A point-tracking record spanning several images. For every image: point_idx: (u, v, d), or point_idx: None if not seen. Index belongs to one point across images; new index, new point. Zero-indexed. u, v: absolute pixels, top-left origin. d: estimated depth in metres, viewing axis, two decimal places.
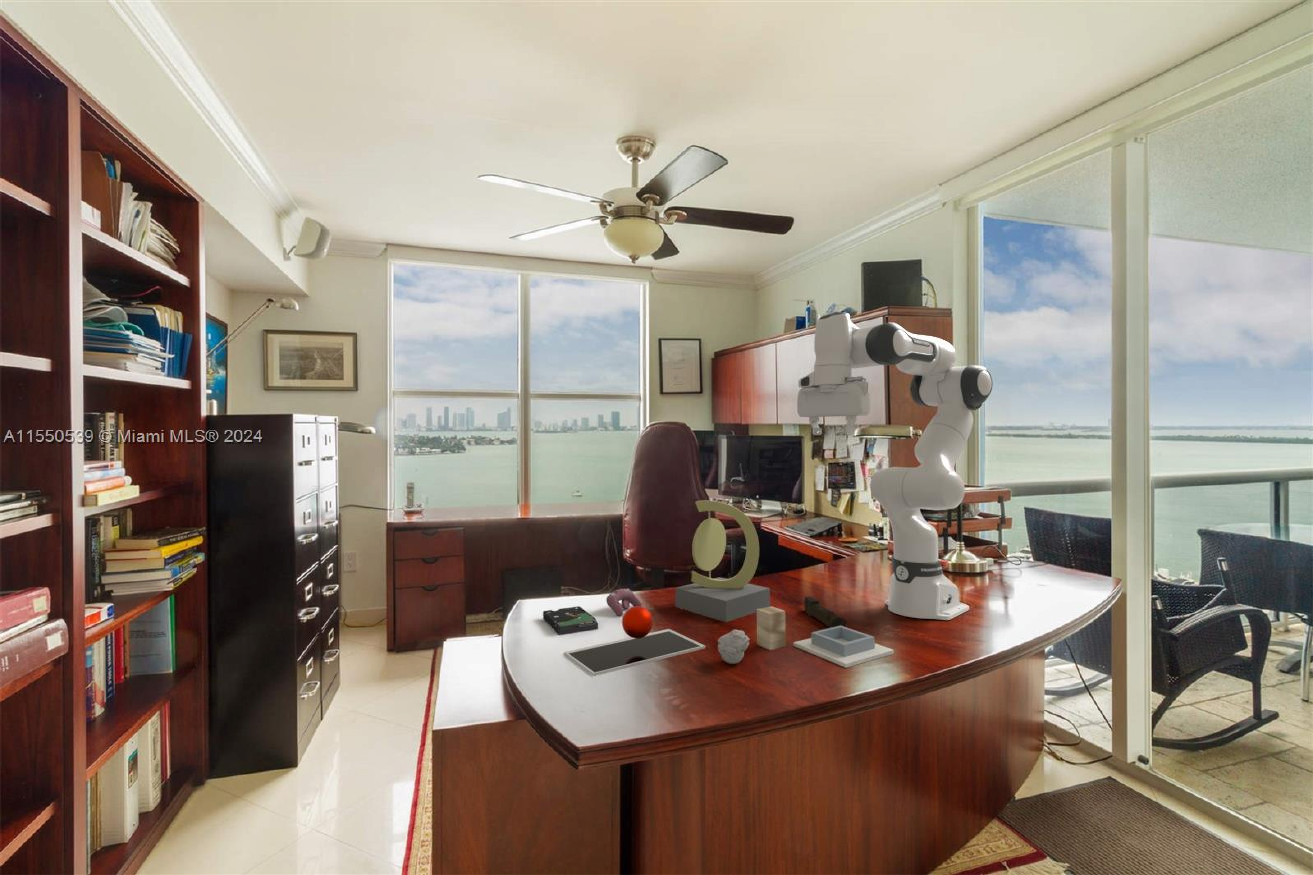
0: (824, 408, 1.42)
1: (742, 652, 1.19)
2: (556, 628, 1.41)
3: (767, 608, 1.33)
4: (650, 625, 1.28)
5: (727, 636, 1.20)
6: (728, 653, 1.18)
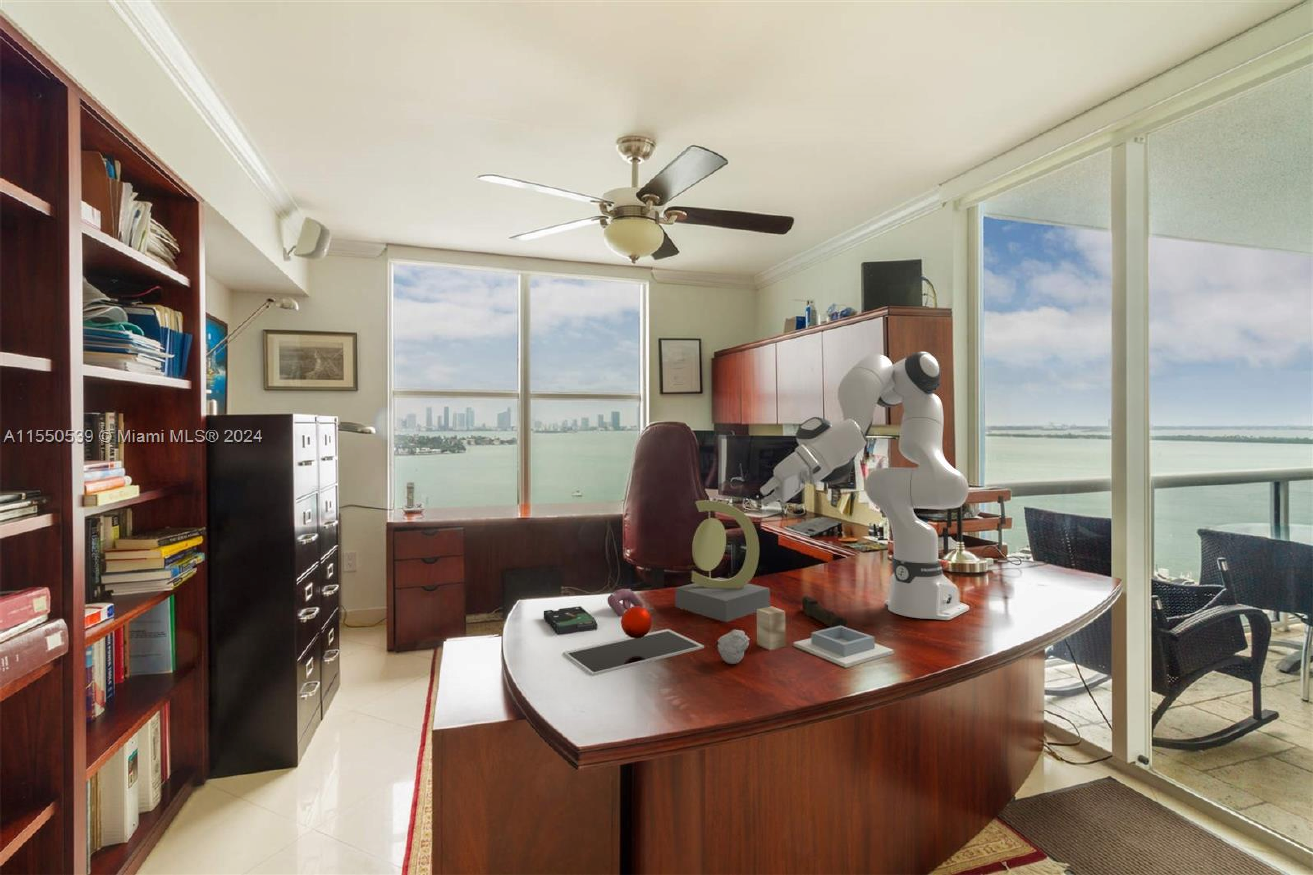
0: (788, 488, 1.40)
1: (742, 652, 1.19)
2: (555, 628, 1.41)
3: (767, 608, 1.33)
4: (649, 625, 1.28)
5: (727, 636, 1.20)
6: (728, 653, 1.18)
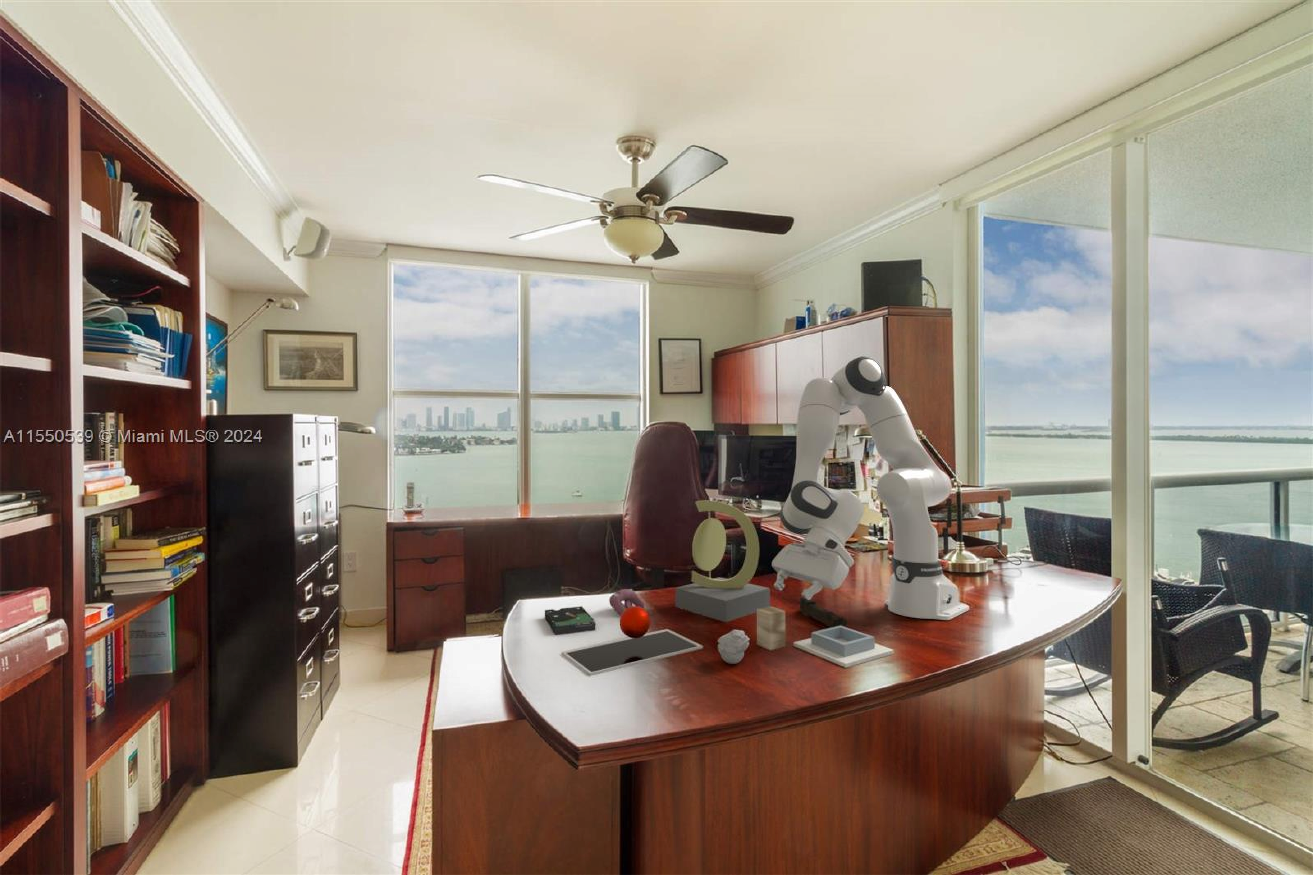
0: None
1: (742, 652, 1.19)
2: (553, 628, 1.41)
3: (767, 608, 1.33)
4: (647, 625, 1.28)
5: (727, 636, 1.20)
6: (728, 653, 1.18)
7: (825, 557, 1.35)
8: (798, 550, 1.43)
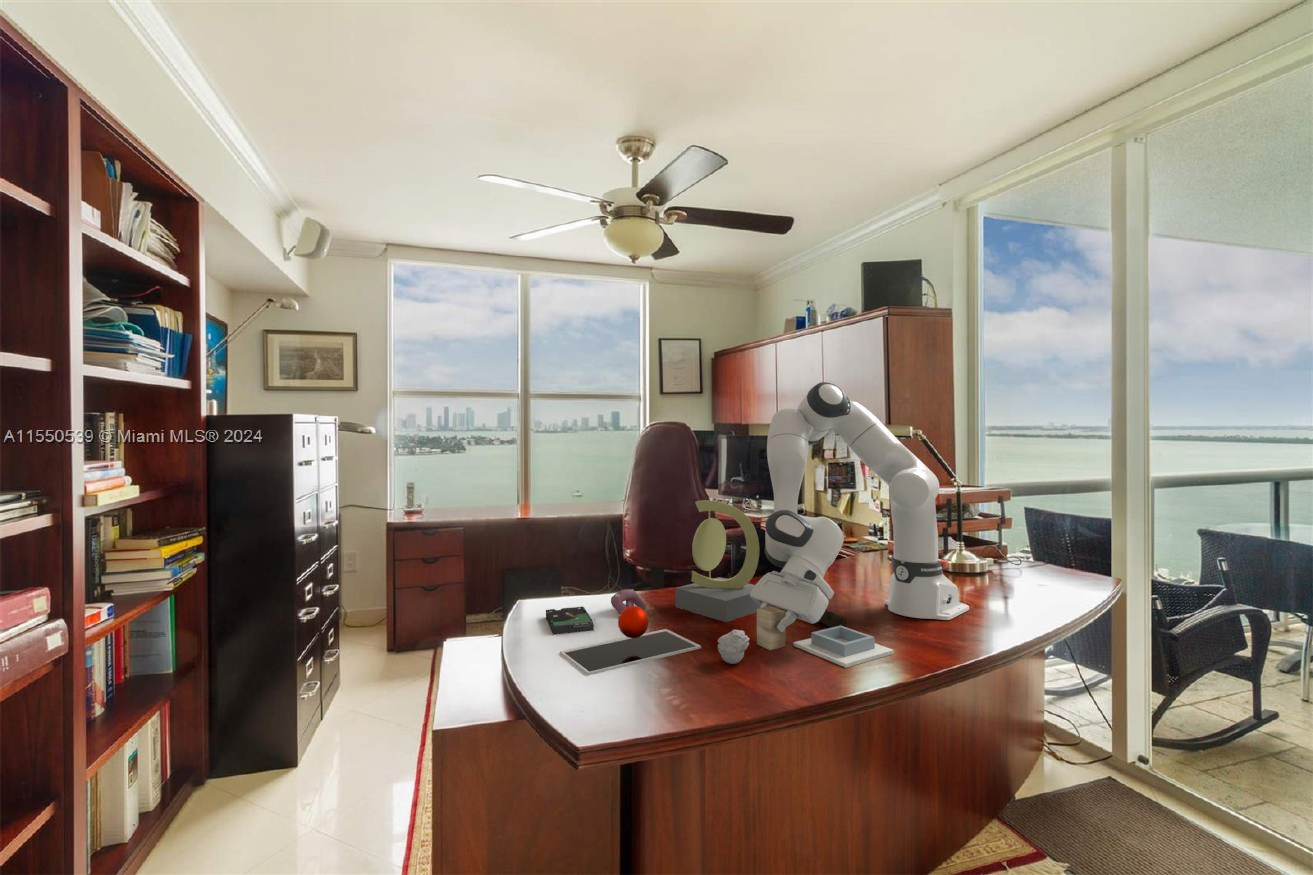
0: None
1: (742, 652, 1.19)
2: (551, 627, 1.42)
3: (767, 608, 1.33)
4: (646, 625, 1.28)
5: (727, 636, 1.20)
6: (728, 653, 1.18)
7: (804, 589, 1.30)
8: (777, 580, 1.38)
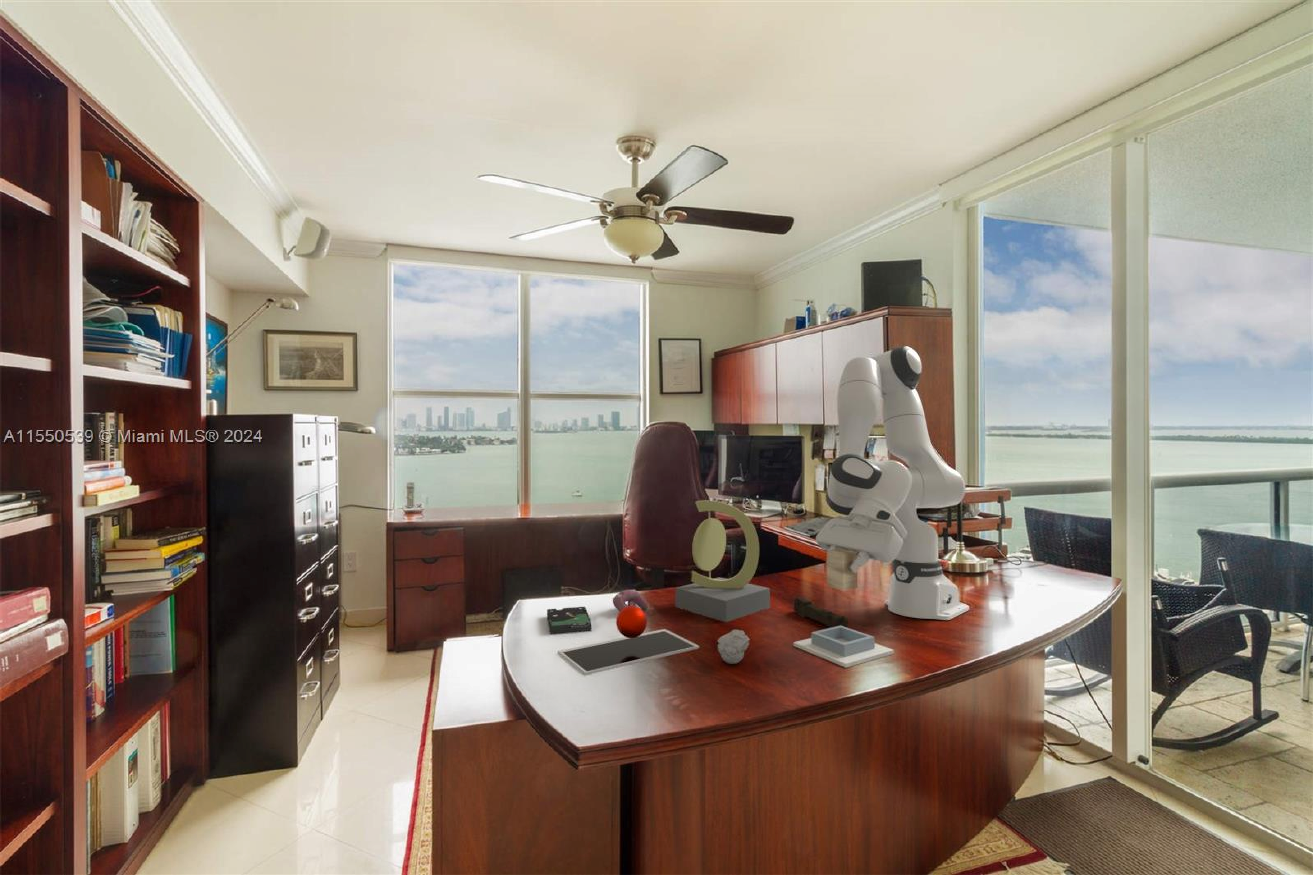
0: None
1: (742, 652, 1.19)
2: (549, 627, 1.42)
3: (837, 550, 1.30)
4: (644, 625, 1.28)
5: (727, 636, 1.20)
6: (728, 653, 1.18)
7: (877, 529, 1.27)
8: (844, 524, 1.35)
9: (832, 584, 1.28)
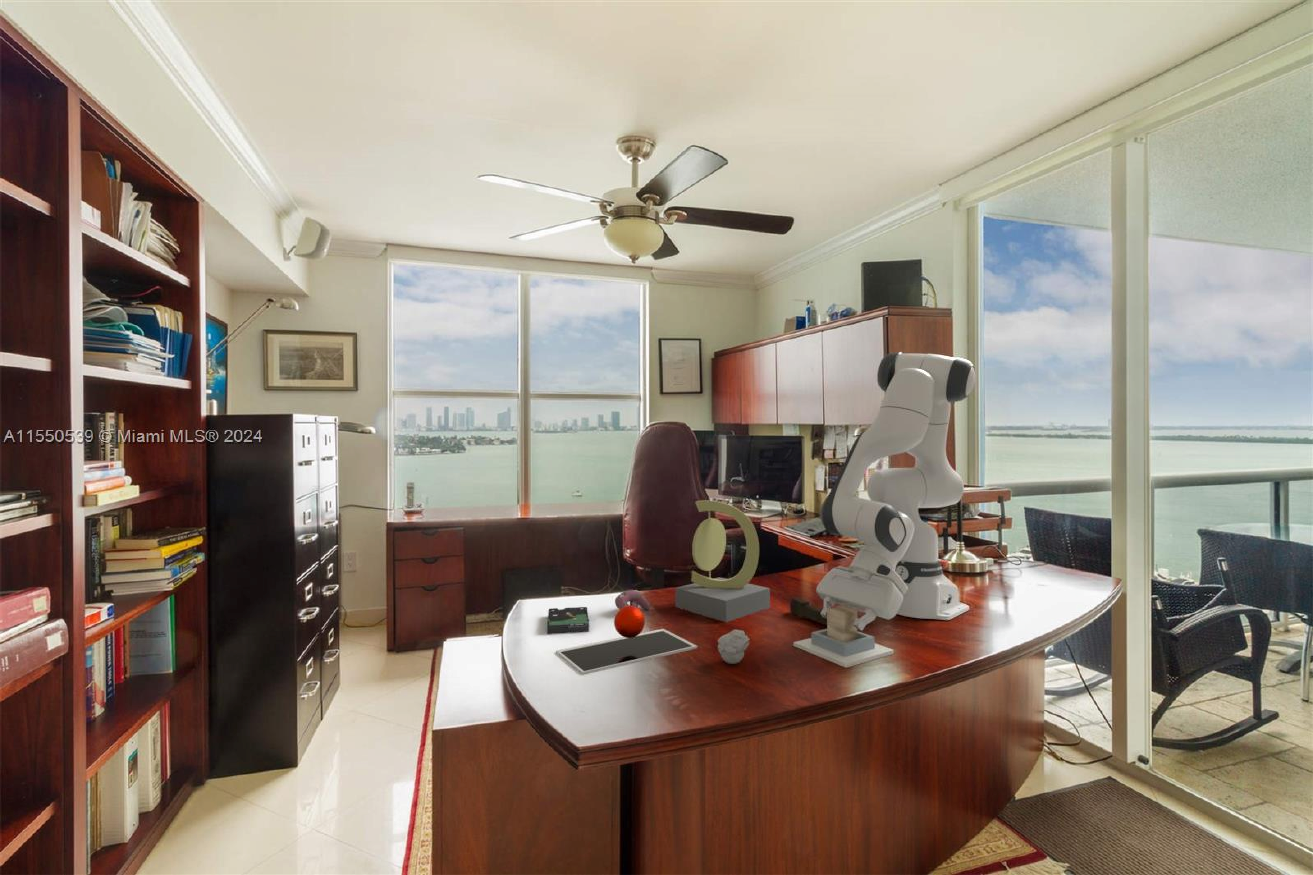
0: None
1: (742, 652, 1.19)
2: None
3: (837, 608, 1.30)
4: (642, 625, 1.28)
5: (727, 636, 1.20)
6: (728, 653, 1.18)
7: (877, 584, 1.27)
8: (845, 575, 1.35)
9: None
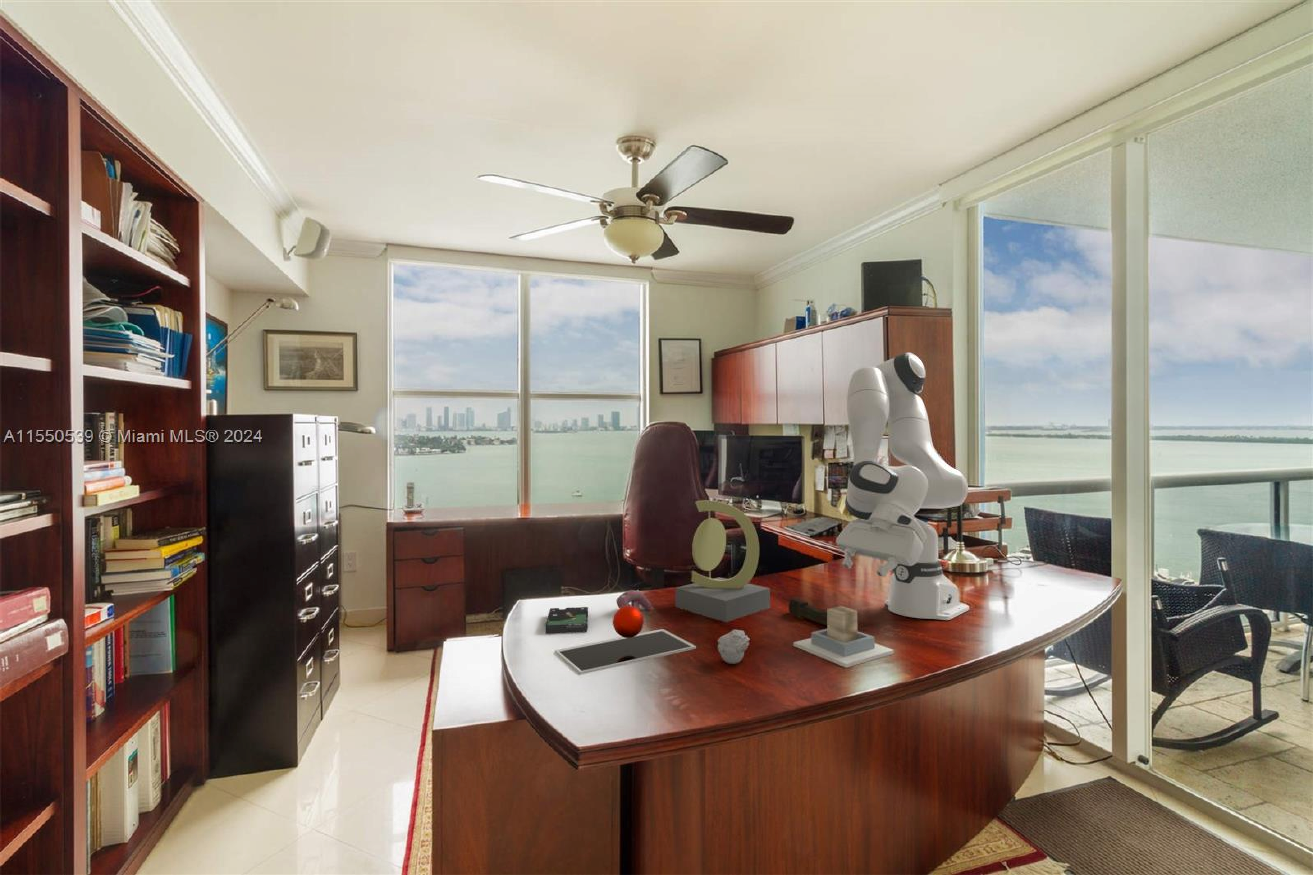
0: None
1: (742, 652, 1.19)
2: None
3: (837, 608, 1.30)
4: (640, 625, 1.28)
5: (727, 636, 1.20)
6: (728, 653, 1.18)
7: (898, 533, 1.32)
8: (864, 527, 1.40)
9: None
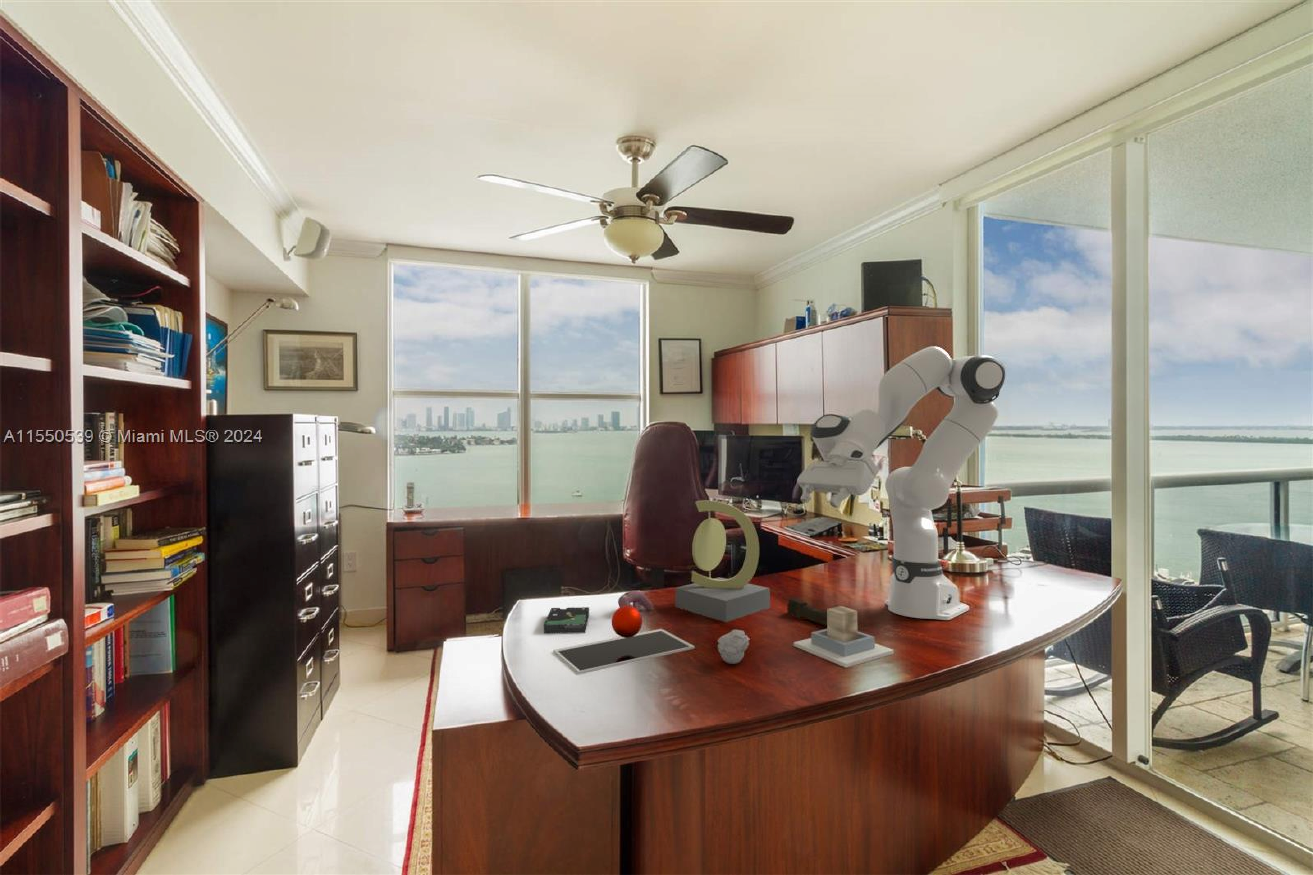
0: None
1: (742, 652, 1.19)
2: None
3: (837, 608, 1.30)
4: (639, 625, 1.29)
5: (727, 636, 1.20)
6: (728, 653, 1.18)
7: (851, 467, 1.40)
8: (823, 465, 1.48)
9: None
